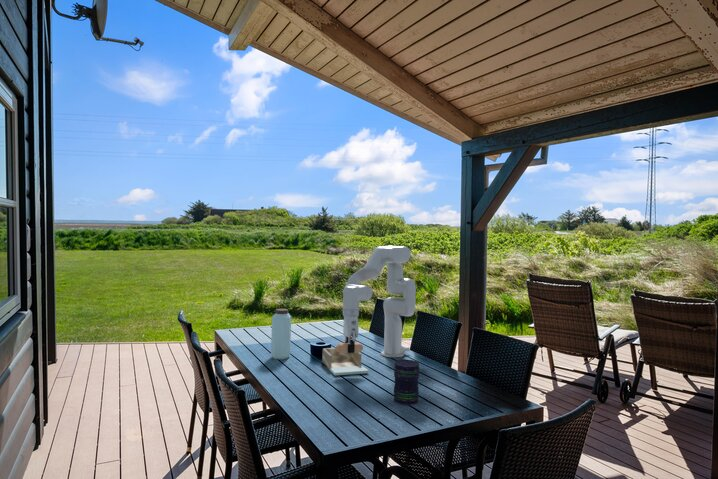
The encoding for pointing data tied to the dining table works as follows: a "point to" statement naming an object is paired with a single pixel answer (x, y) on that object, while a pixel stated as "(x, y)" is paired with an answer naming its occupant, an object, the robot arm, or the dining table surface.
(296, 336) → the dining table surface
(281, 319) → the water bottle
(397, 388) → the storage jar
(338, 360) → the crate
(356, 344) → the dome-capped square column
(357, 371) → the tailgate
